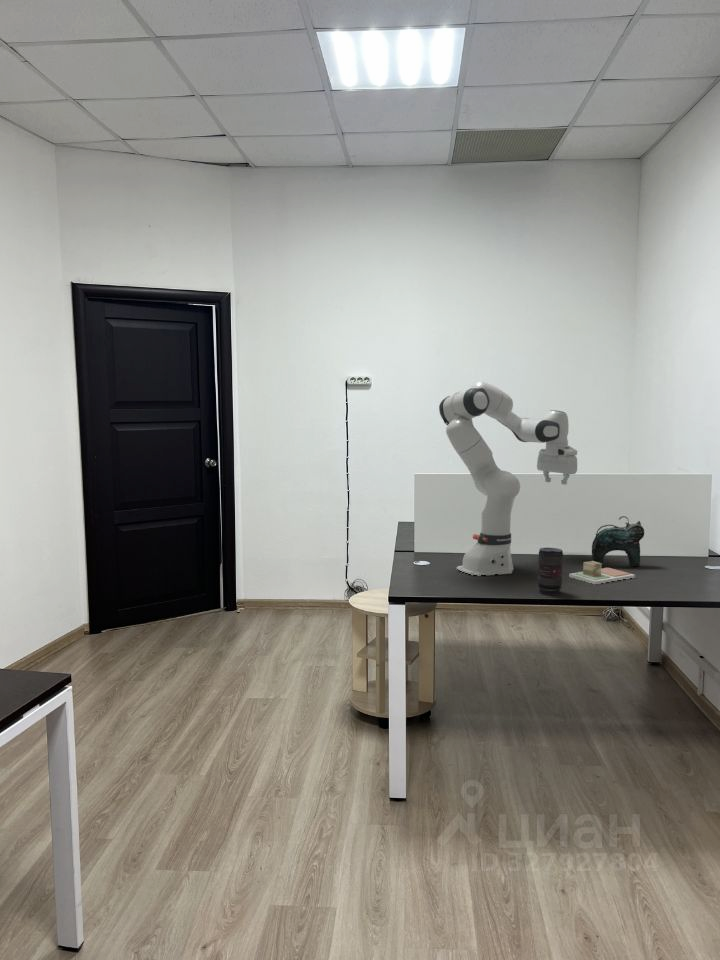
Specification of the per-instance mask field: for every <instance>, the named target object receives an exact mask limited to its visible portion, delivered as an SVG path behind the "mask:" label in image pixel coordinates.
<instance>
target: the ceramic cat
mask: <svg viewBox="0 0 720 960" xmlns="http://www.w3.org/2000/svg"><path fill="white" fill-rule="evenodd" d="M622 518H625V519H627V522H625V524H626V525H625V526H623V527H621V526H616V525H613V524H605V525H602V526H600V527H598V529H597V531H596V533H595V536H594V538H593V541H592V544H591V556H592V561H594V562H598V563H602V566H603V567H604V558H605V556H606V555H607V554H608V553H610V552H613V551H621V552H625V554H626V556H627V558H628V565H629V567H631V566H639V567H640V565H641V544H640V541H641V540H642V539H643V538H644V536H645V529H644V527H643V526H642V524H641V521H640V520H637V522H636V523H629V522H630V521H629V520H630V519H629V518H628V517H627V516H624V515H623V516H620V517H619V518H618V521H620V520H621V519H622ZM605 527H606V528H605ZM608 527H609V528H608ZM602 528H603V529H602ZM601 529H602V530H601Z"/></svg>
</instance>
